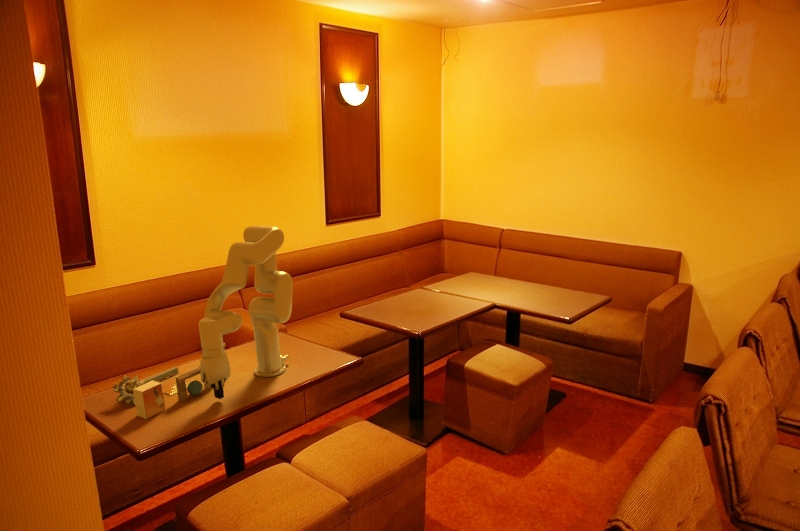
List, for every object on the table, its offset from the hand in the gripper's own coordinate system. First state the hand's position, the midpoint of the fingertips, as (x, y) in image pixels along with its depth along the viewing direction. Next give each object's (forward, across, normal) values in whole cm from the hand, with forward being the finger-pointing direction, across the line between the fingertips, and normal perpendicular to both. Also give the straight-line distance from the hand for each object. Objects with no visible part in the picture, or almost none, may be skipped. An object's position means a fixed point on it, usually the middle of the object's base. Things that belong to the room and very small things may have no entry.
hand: (219, 397), depth 206 cm
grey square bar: (+2, 0, -37) cm, 37 cm away
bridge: (+2, 0, -13) cm, 13 cm away
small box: (+2, +18, -15) cm, 23 cm away
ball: (-1, +1, -13) cm, 13 cm away
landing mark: (+2, 0, -27) cm, 27 cm away
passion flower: (+2, +16, -31) cm, 35 cm away
